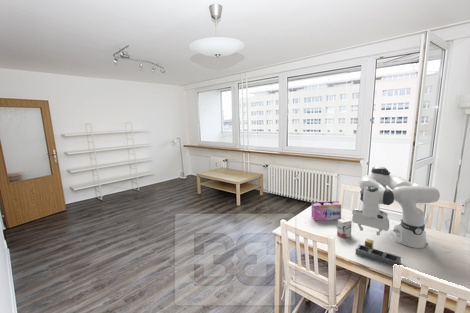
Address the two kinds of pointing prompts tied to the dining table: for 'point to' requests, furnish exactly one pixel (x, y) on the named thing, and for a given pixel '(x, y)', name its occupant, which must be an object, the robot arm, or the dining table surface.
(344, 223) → the ink box
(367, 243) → the brushed brass bar
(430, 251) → the dining table surface
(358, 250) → the grey compartment tray
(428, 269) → the dining table surface
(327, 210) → the gum box
